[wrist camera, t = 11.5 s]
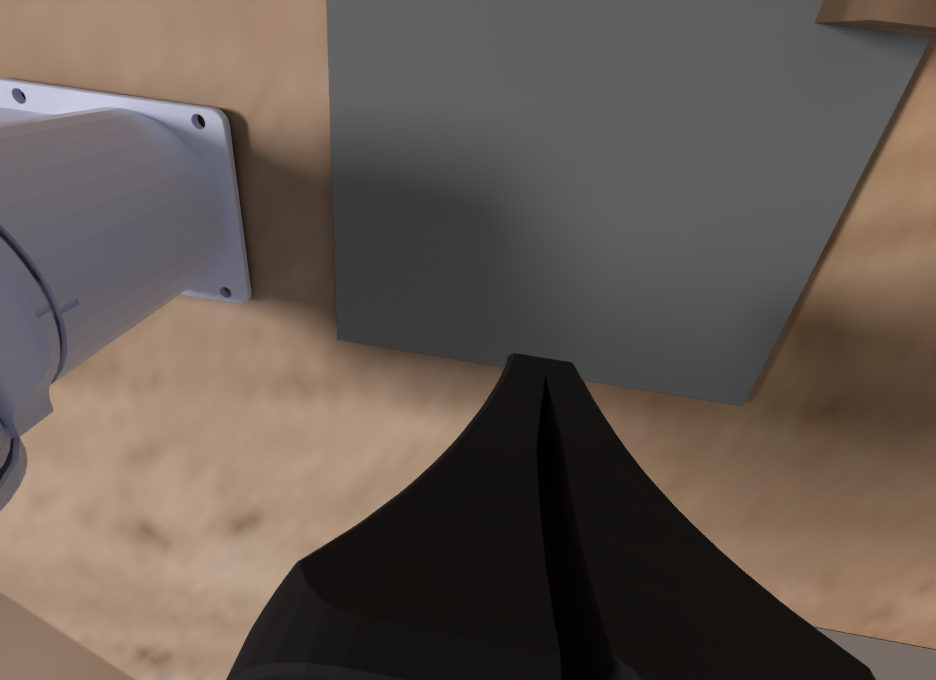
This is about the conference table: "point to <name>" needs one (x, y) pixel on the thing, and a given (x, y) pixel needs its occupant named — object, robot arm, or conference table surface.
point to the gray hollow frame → (888, 657)
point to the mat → (596, 177)
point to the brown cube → (881, 15)
